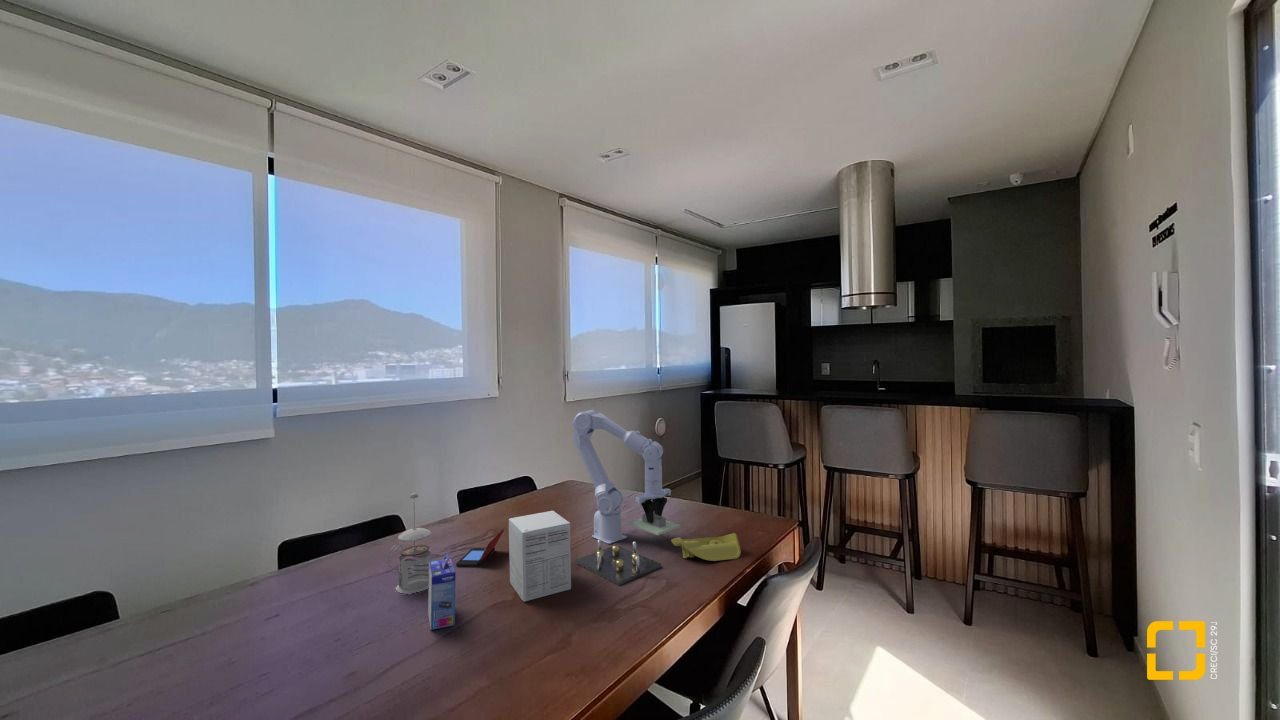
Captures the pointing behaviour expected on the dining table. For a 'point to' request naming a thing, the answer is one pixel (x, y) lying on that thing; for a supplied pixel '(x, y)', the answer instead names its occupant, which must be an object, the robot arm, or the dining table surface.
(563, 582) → the supplement box
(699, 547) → the plastic component
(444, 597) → the ink cartridge box
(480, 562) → the handheld game console
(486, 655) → the dining table surface
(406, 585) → the french press
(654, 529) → the board
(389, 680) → the dining table surface
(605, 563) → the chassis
